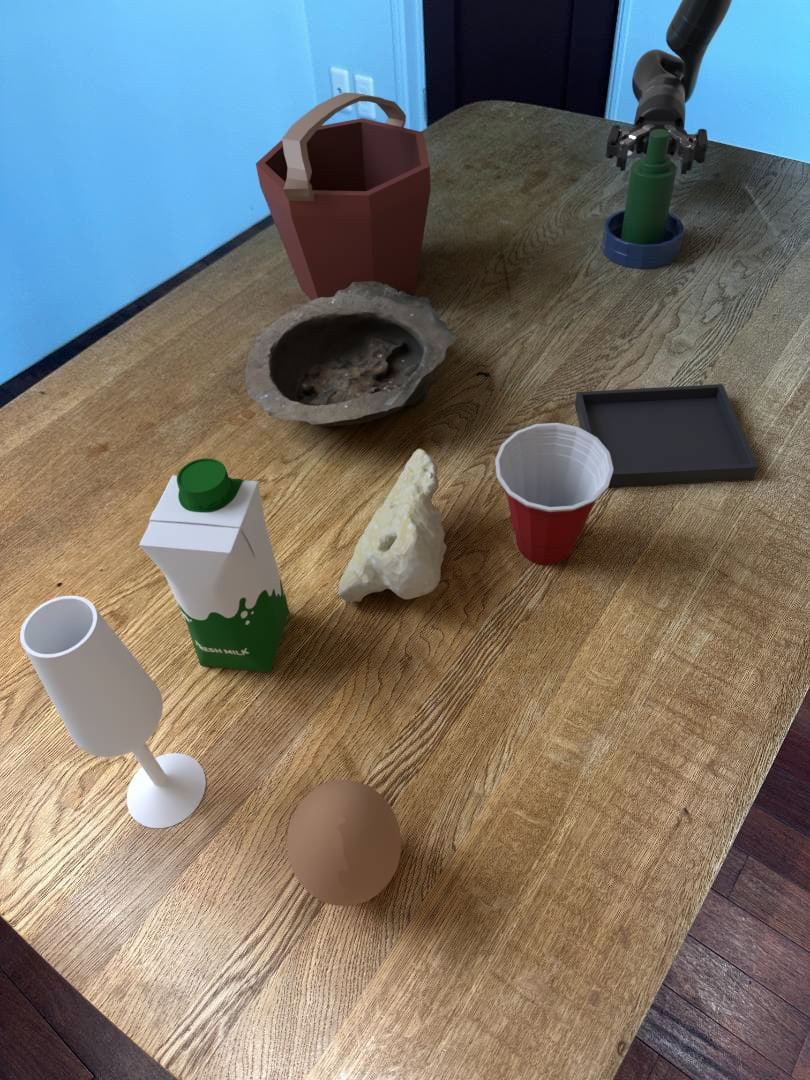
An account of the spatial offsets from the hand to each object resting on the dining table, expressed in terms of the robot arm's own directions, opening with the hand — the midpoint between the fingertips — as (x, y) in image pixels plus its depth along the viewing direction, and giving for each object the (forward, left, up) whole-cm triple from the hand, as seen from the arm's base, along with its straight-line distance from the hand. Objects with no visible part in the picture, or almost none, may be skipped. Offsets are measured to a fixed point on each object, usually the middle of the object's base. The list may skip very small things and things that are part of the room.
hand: (653, 166), depth 116 cm
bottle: (+2, +6, -10) cm, 11 cm away
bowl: (+2, +6, -10) cm, 12 cm away
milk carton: (+53, +72, -10) cm, 90 cm away
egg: (+42, +94, -10) cm, 103 cm away
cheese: (+38, +62, -10) cm, 73 cm away
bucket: (+44, +10, -10) cm, 46 cm away
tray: (+8, +47, -10) cm, 48 cm away
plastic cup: (+23, +62, -10) cm, 67 cm away
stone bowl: (+44, +36, -10) cm, 57 cm away
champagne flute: (+58, +87, -10) cm, 105 cm away
